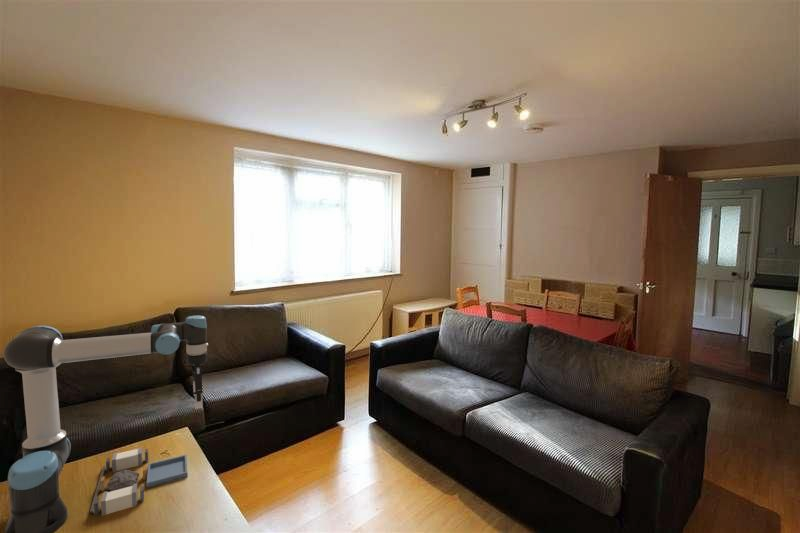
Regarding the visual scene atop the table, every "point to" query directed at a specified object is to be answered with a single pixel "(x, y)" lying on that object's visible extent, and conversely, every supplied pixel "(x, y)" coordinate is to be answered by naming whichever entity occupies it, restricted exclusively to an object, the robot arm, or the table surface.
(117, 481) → the rock
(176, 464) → the tray
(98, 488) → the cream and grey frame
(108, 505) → the fuse
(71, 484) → the table surface
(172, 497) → the table surface
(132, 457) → the fuse
